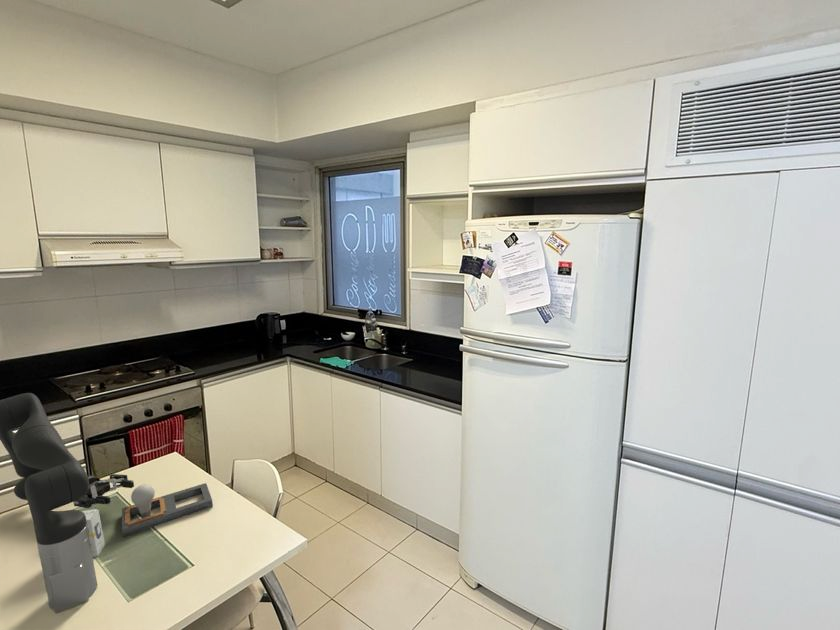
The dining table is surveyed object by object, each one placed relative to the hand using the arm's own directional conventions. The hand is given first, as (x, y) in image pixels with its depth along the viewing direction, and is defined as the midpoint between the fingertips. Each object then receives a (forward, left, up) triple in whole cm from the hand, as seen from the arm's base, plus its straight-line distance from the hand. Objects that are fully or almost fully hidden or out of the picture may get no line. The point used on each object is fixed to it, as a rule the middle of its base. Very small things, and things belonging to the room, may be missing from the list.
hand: (121, 492), depth 132 cm
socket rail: (-6, -11, -8) cm, 15 cm away
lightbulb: (-5, -5, -8) cm, 11 cm away
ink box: (-14, +10, -8) cm, 19 cm away
